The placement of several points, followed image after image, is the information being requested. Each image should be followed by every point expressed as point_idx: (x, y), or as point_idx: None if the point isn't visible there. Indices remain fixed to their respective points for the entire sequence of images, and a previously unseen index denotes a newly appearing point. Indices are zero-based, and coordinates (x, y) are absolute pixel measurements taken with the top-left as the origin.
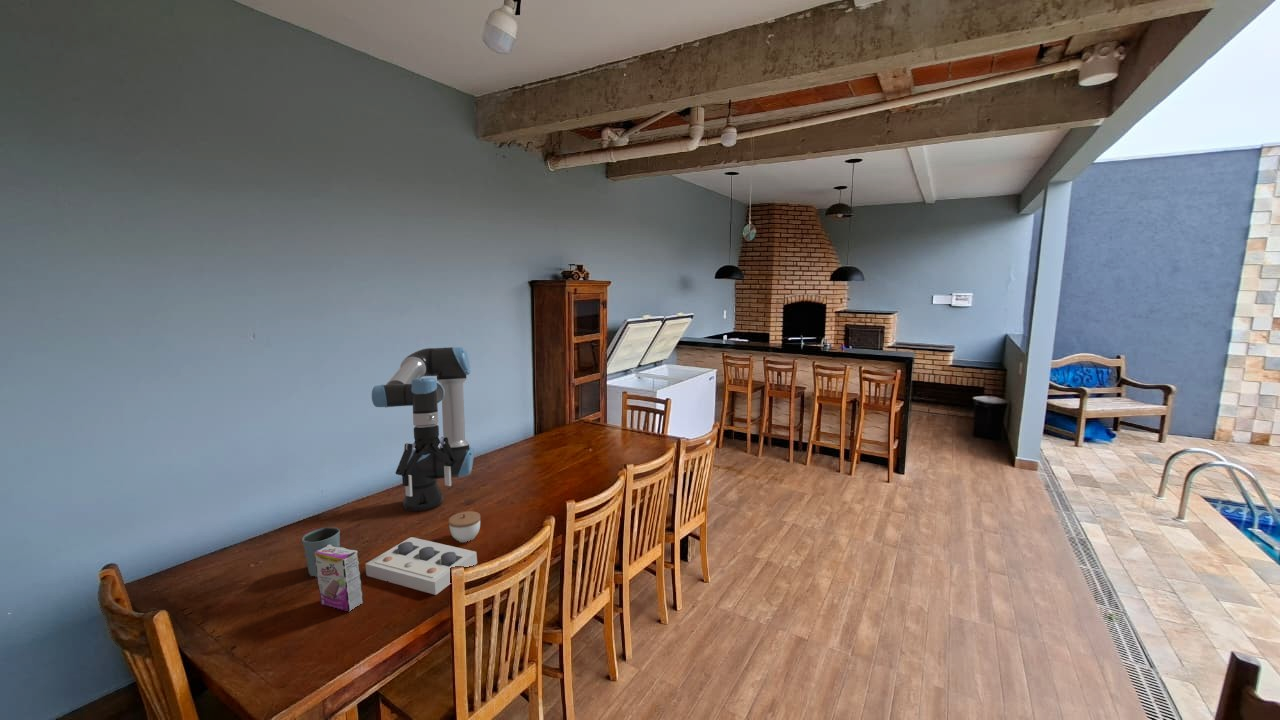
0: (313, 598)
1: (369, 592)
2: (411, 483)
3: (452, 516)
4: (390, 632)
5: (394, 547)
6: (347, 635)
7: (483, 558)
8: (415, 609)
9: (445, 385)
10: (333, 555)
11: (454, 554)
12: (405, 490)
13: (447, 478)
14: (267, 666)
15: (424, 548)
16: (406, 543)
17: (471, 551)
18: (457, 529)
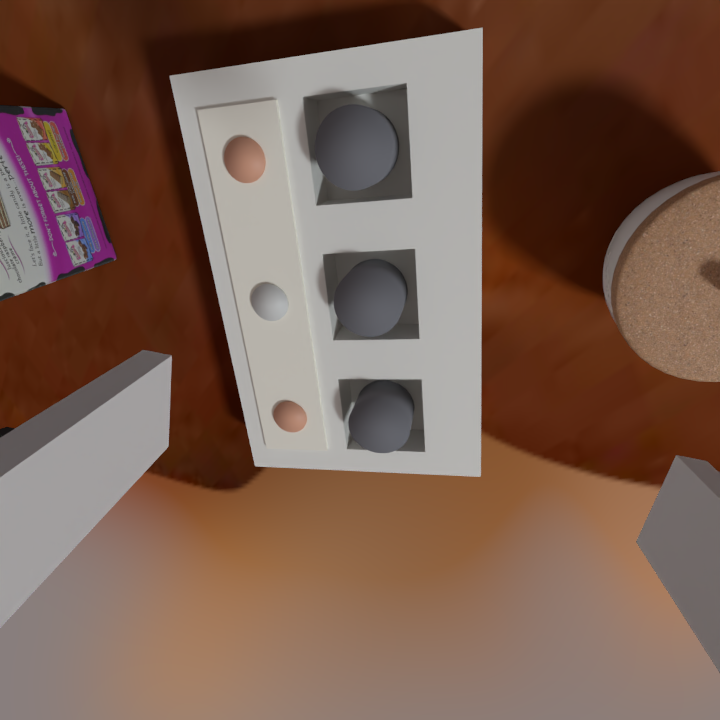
0: (6, 35)
1: (156, 219)
2: (68, 547)
3: None
4: None
5: (343, 58)
6: (38, 351)
7: (520, 446)
8: (199, 432)
9: None
10: None
11: (395, 445)
12: (105, 374)
13: (705, 586)
14: None
15: (375, 281)
16: (369, 136)
17: (475, 457)
18: (610, 302)
